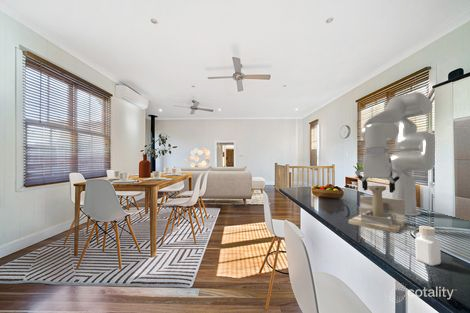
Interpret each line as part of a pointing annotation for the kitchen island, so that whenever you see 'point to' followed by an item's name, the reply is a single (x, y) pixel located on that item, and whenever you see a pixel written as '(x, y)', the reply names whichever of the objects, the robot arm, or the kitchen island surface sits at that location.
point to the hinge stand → (389, 222)
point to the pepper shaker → (427, 246)
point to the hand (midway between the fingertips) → (378, 191)
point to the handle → (377, 200)
